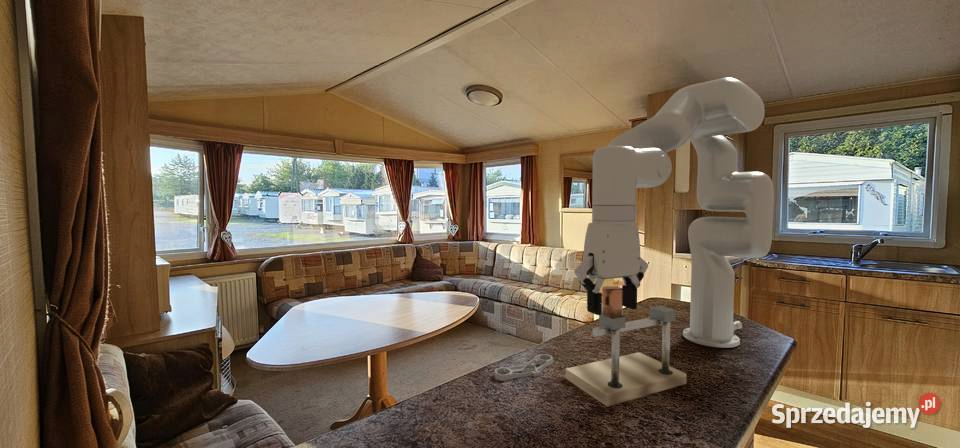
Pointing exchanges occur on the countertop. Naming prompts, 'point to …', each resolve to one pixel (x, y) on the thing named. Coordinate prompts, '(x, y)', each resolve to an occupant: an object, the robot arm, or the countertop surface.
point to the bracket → (524, 368)
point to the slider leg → (613, 324)
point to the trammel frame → (657, 317)
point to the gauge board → (624, 378)
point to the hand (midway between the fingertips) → (612, 309)
